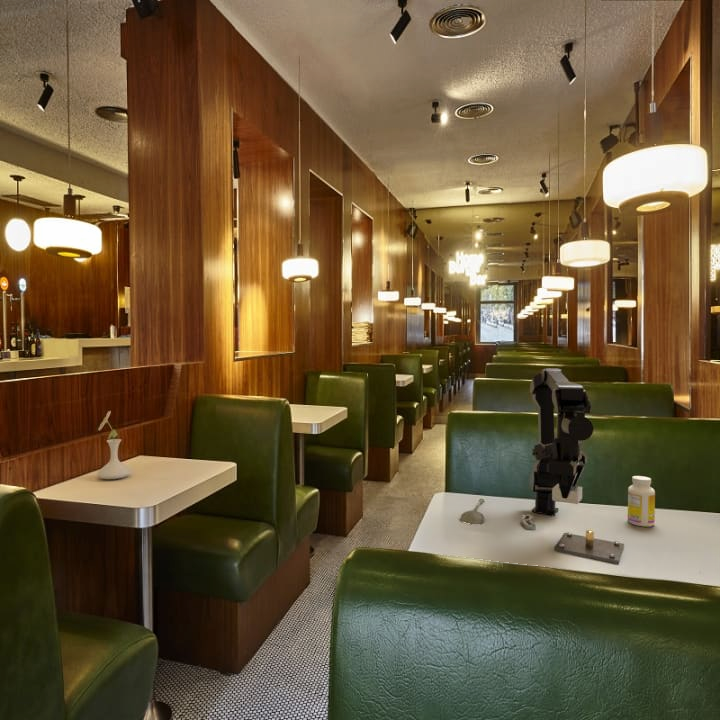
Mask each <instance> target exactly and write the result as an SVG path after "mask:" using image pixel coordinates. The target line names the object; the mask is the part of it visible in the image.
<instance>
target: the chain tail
mask: <svg viewBox="0 0 720 720" xmlns="http://www.w3.org/2000/svg"><path fill="white" fill-rule="evenodd" d="M533 521H534V515H531V514H525V513H524V514H523V515H522V517H521V518H520V523H521V525H522V526H523V528H524V529H525V530H536V529H537V528H536V527H537V525H536V524H535V523H534V522H533Z"/></svg>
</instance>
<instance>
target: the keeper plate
mask: <svg viewBox="0 0 720 720" xmlns="http://www.w3.org/2000/svg"><path fill="white" fill-rule="evenodd" d="M624 550H625V544H624V543H621V542H620V541H618V540H615V541H612V540H611V541H610V540H605V539H602V538H601V539H600V538H595V531H593V530H589V529H586V530H585V535H579V534H573V533H572V532H568V531H567V532H564V533H563V534H562V535H561V536H560V538H559V540H558V541H557V543H556V544H555V546H554V547H553V551H555V552H557V553H558V552H559V553H563V554H567V555H572V556H578V557H582V558H587V559H591V560H597V561H601V562H606V563H610V564H617V565H618V564H619V563H620V560H621V557H622V554H623V552H624Z"/></svg>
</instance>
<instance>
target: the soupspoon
mask: <svg viewBox="0 0 720 720" xmlns="http://www.w3.org/2000/svg"><path fill="white" fill-rule="evenodd" d="M483 502H484V503H485V499H483V498H479V499H478V502H477V503H476V505H475V506H474V509H473V510H467V511H465V512H463V513H462V514H460V521H461V522H462V521H463V522H466V523H470V524H469V525H472V524H480V525H482V524H483V523H484V522H485V515H484V514H483V513H482V512H480V511H478V509H479V507H480V505H481V504H484V503H483ZM463 522H462V523H463ZM466 523H465V524H466Z"/></svg>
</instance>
